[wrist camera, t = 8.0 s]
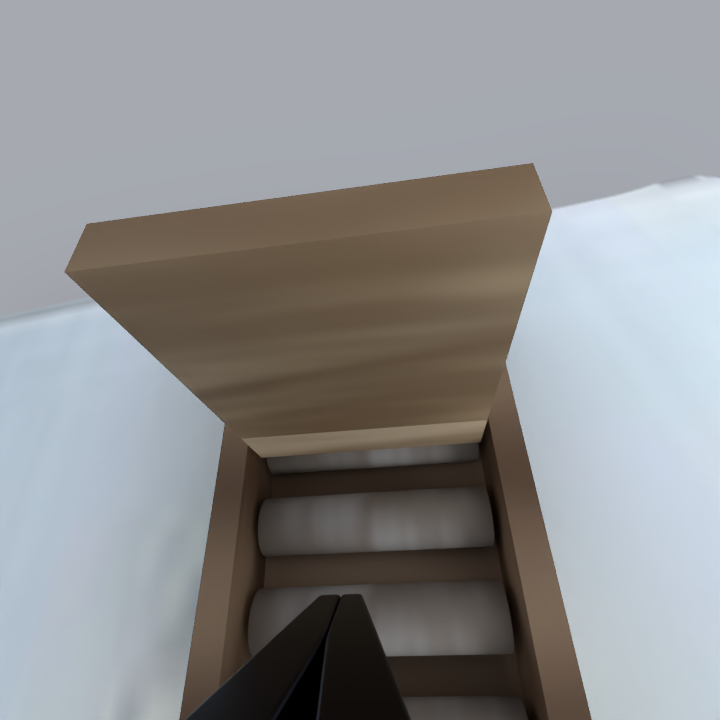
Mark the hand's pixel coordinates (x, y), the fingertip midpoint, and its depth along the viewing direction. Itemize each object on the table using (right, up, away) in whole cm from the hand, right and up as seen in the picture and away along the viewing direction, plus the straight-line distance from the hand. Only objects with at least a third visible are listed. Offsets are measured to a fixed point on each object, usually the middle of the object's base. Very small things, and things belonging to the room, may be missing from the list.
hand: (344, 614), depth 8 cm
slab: (0, +4, +9) cm, 10 cm away
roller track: (+1, 0, +9) cm, 9 cm away
